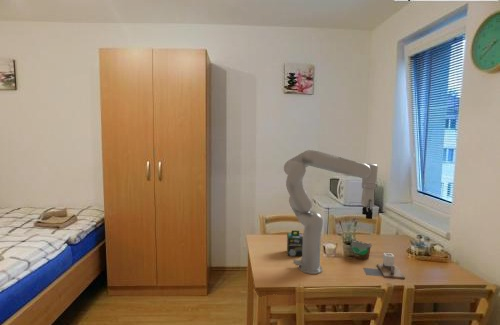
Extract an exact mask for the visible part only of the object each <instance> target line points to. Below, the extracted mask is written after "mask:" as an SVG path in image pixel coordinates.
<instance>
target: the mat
mask: <svg viewBox="0 0 500 325" xmlns="http://www.w3.org/2000/svg"><path fill="white" fill-rule="evenodd" d="M362 269H363V271H364V273H365V275H366V276H373V277H374V276H375V277H384V276H383V275H382V273H381V271H380V270H379V268H370V267H363V268H362Z"/></svg>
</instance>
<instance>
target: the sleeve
mask: <svg viewBox="0 0 500 325" xmlns="http://www.w3.org/2000/svg"><path fill="white" fill-rule="evenodd" d="M382 256H383V257H382V264H383V266H384V268H385V269H391V265H393V266H394V265H395V255H394V254H393V253H389V252H388V253H387V252H383V254H382Z"/></svg>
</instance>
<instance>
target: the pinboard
mask: <svg viewBox="0 0 500 325" xmlns="http://www.w3.org/2000/svg"><path fill="white" fill-rule="evenodd" d="M376 267H377V269H379V270H380V271H381V273H382V275H383V276H382V277H384V278H387V279H388V278H389V279H391V278H392V279H401V280H405V279H406V277H405V275H404V274H403V273H402V272H401V270H400V268H399V267H398V266H397V265H396V264H394V266H393V265H391V269H385V268H384V266H383V263H376Z"/></svg>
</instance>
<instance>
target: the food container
mask: <svg viewBox="0 0 500 325" xmlns="http://www.w3.org/2000/svg"><path fill="white" fill-rule="evenodd" d="M351 240H352V239H351ZM353 240H354V239H353ZM353 240H352V243H351V242H350V244H351V247H352V248H353V249H352V248H351V249H352V252H351V253H352V257H353V258H354V259H357V260H361V261H362V260H363V261H364V260H369V258H370V252H371V248H372V246H373V245H372V243H366V242H364V241H361V240H360V241H359V240H355V241H353Z"/></svg>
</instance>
